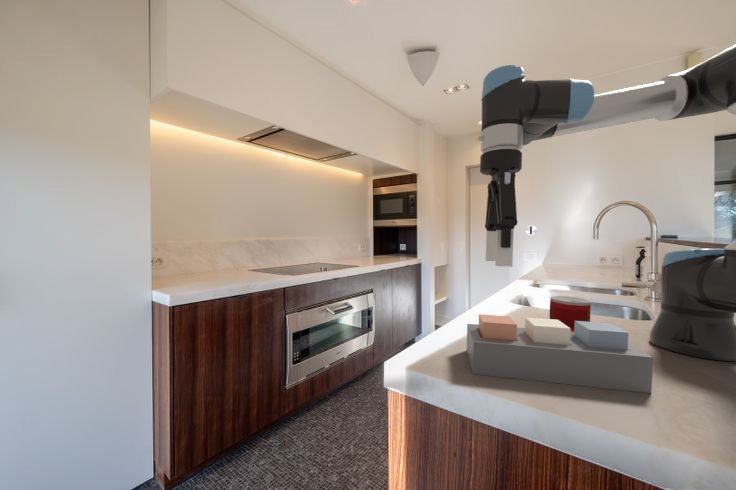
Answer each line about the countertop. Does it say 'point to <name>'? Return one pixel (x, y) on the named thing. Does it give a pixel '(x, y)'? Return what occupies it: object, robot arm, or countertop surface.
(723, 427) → the countertop surface
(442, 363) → the countertop surface
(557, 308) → the canned food
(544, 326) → the ivory key
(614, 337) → the slate key
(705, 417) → the countertop surface
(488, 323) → the terracotta key
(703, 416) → the countertop surface
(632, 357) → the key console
